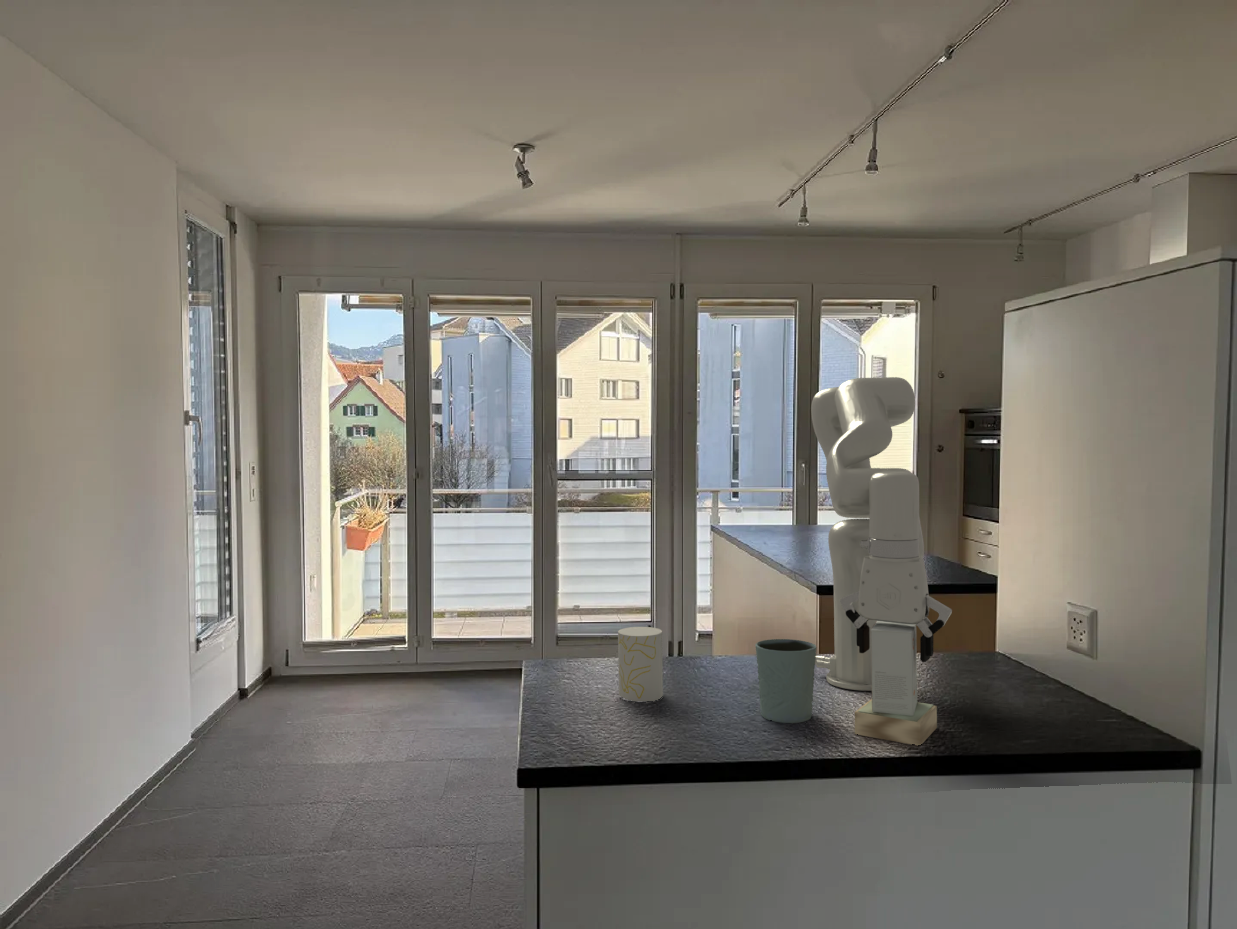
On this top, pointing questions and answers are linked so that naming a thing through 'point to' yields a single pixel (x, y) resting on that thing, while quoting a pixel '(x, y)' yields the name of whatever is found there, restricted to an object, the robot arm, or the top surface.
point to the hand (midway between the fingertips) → (894, 655)
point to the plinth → (897, 724)
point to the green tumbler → (786, 679)
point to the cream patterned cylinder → (640, 663)
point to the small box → (894, 668)
